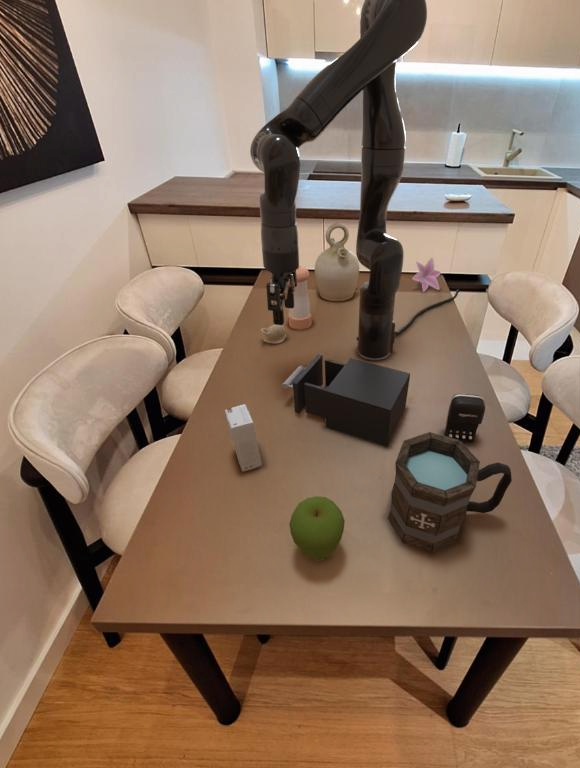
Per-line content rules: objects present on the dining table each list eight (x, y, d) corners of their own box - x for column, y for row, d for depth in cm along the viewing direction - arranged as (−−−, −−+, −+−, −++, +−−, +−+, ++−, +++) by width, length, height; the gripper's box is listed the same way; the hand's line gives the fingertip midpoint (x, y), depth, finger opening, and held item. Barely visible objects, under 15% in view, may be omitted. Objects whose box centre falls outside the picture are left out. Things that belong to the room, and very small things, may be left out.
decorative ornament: (290, 339, 119) (288, 323, 116) (265, 348, 115) (263, 332, 112) (282, 333, 122) (281, 317, 118) (258, 342, 117) (256, 326, 114)
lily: (405, 293, 149) (416, 276, 141) (405, 269, 154) (417, 252, 146) (433, 302, 152) (446, 285, 143) (433, 279, 157) (446, 262, 149)
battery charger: (443, 443, 87) (453, 403, 80) (442, 430, 90) (451, 391, 83) (476, 446, 86) (488, 406, 79) (474, 433, 89) (486, 394, 82)
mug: (391, 553, 67) (400, 498, 57) (383, 487, 77) (390, 432, 68) (507, 551, 67) (534, 497, 58) (483, 486, 78) (503, 431, 69)
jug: (358, 304, 138) (361, 230, 123) (313, 303, 138) (310, 229, 123) (358, 285, 150) (361, 216, 135) (317, 284, 150) (315, 215, 135)
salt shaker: (310, 330, 124) (308, 270, 112) (287, 329, 124) (282, 269, 112) (312, 318, 129) (310, 261, 117) (290, 318, 129) (285, 260, 117)
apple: (349, 567, 65) (351, 527, 57) (298, 581, 63) (293, 542, 55) (336, 521, 71) (336, 480, 64) (289, 533, 69) (283, 492, 62)
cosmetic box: (263, 465, 81) (255, 422, 73) (241, 473, 79) (231, 429, 72) (255, 445, 85) (247, 402, 78) (233, 452, 83) (223, 408, 76)
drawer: (278, 407, 94) (275, 377, 88) (304, 378, 103) (302, 349, 97) (348, 429, 88) (349, 399, 83) (368, 396, 97) (370, 367, 92)
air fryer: (325, 427, 90) (324, 390, 83) (349, 392, 100) (350, 357, 93) (386, 447, 86) (390, 410, 79) (405, 408, 96) (410, 373, 89)
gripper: (288, 259, 77) (291, 332, 86) (306, 236, 88) (307, 304, 98) (250, 255, 77) (258, 328, 87) (273, 233, 89) (278, 300, 98)
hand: (284, 315), depth 92 cm, fingers open, 8 cm apart
